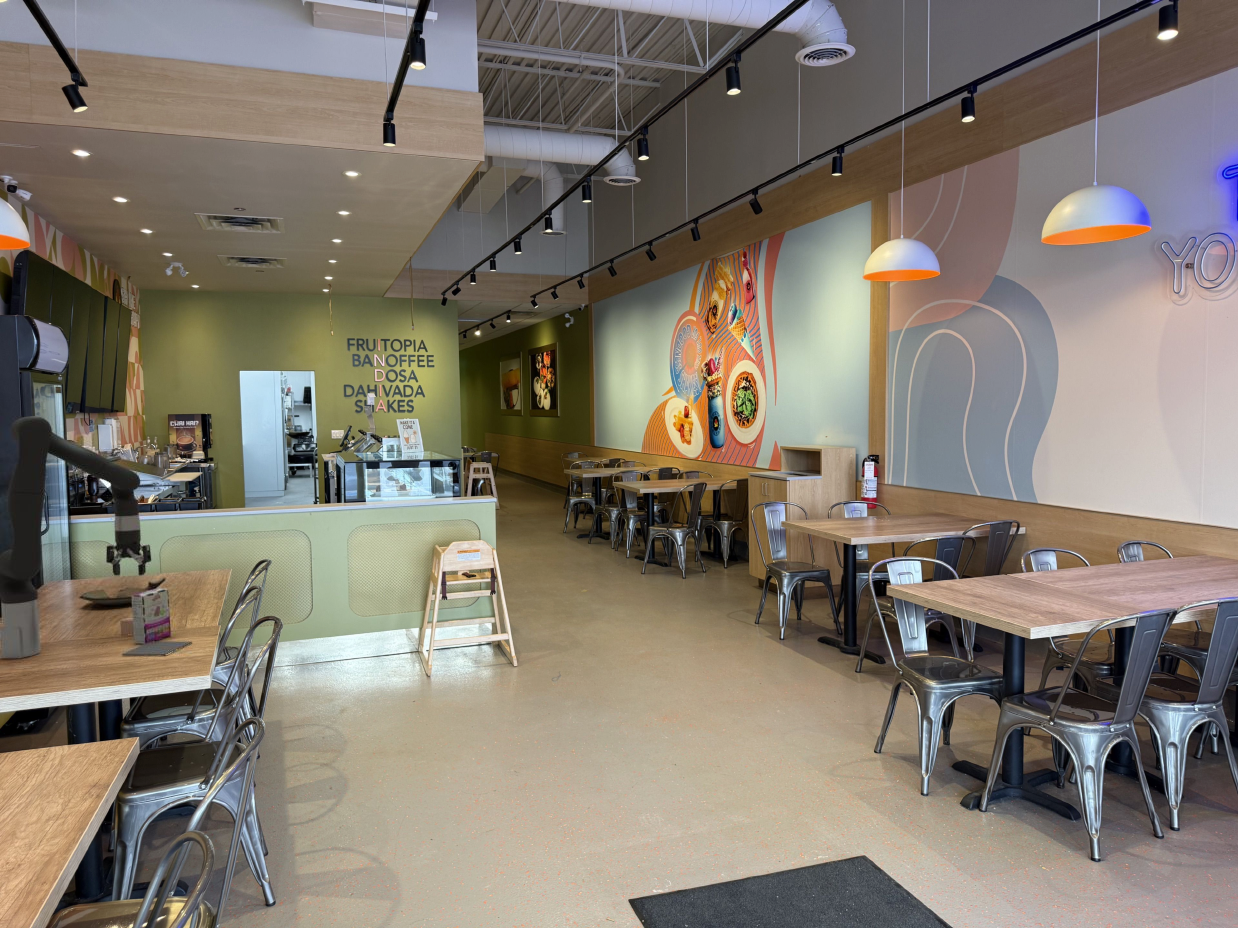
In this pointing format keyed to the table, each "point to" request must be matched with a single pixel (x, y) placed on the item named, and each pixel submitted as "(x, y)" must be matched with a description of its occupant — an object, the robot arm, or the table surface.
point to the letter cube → (127, 626)
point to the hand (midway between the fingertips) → (129, 575)
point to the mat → (156, 648)
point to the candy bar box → (151, 615)
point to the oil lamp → (122, 596)
